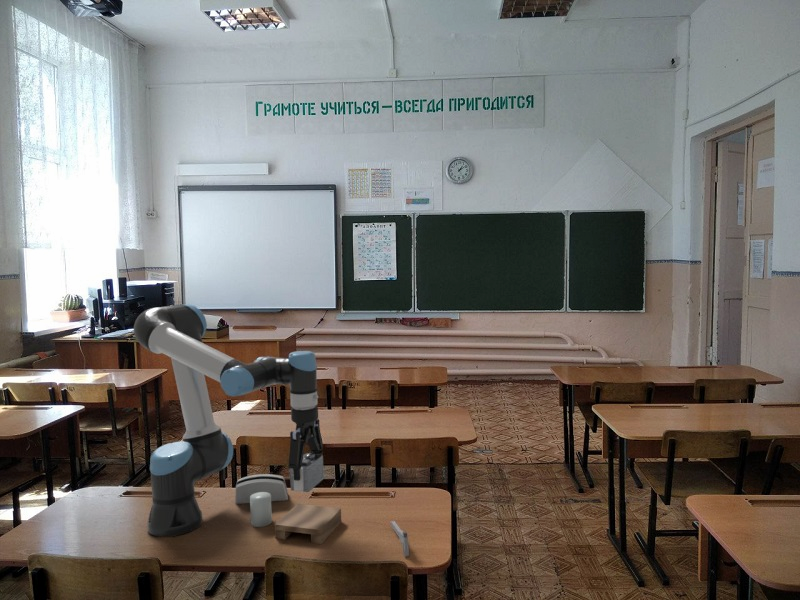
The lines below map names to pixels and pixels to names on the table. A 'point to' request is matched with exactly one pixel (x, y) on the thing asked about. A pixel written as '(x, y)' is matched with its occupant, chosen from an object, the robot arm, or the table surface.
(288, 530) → the stand
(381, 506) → the table surface
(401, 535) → the caliper
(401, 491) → the table surface
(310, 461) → the housing
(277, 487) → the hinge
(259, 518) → the pale grey pebble
